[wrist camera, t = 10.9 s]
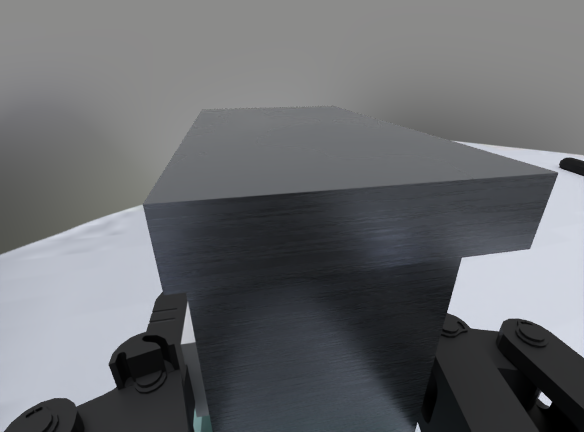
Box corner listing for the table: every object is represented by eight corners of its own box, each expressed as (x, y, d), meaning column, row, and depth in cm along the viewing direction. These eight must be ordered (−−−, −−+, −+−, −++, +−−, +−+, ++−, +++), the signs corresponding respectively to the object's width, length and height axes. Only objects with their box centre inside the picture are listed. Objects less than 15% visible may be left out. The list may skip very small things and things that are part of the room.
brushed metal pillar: (248, 663, 9) (143, 204, 3) (237, 396, 16) (202, 109, 10) (392, 614, 9) (558, 172, 3) (320, 380, 16) (333, 106, 11)
